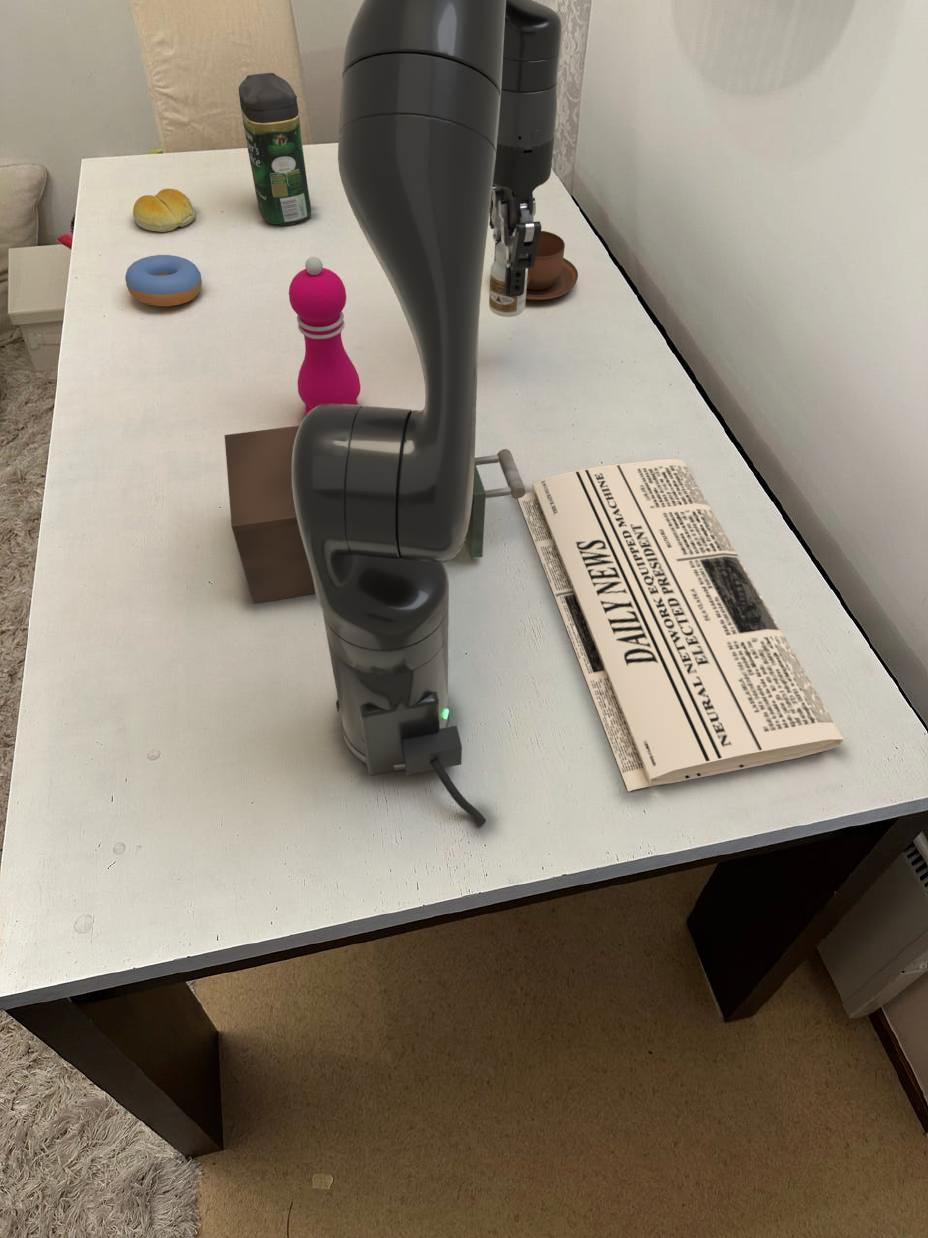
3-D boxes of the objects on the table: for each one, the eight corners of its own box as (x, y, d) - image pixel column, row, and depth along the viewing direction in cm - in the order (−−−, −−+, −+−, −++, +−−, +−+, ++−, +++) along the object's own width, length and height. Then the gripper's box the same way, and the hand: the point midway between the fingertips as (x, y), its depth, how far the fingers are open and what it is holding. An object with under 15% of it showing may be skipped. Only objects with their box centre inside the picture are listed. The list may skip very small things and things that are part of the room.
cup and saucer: (579, 309, 117) (584, 267, 112) (492, 306, 117) (494, 264, 112) (573, 264, 124) (579, 223, 120) (492, 262, 124) (494, 220, 120)
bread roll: (127, 217, 131) (120, 191, 128) (182, 202, 134) (176, 176, 131) (148, 239, 127) (141, 213, 123) (204, 223, 130) (198, 197, 127)
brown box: (380, 495, 93) (374, 415, 85) (400, 580, 85) (396, 502, 77) (244, 514, 91) (224, 434, 82) (252, 603, 83) (231, 526, 75)
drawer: (501, 475, 94) (505, 410, 87) (529, 550, 87) (536, 485, 80) (335, 498, 91) (326, 433, 84) (350, 577, 84) (342, 513, 77)
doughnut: (188, 269, 121) (181, 238, 118) (216, 302, 116) (209, 270, 113) (121, 288, 118) (111, 257, 114) (146, 323, 113) (136, 291, 109)
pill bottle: (482, 312, 102) (485, 250, 96) (498, 295, 105) (502, 234, 99) (515, 321, 101) (519, 260, 95) (530, 304, 104) (536, 243, 98)
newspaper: (836, 750, 74) (848, 734, 72) (628, 792, 71) (634, 776, 69) (680, 473, 96) (685, 454, 94) (516, 496, 93) (518, 477, 91)
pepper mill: (353, 440, 99) (336, 280, 83) (294, 431, 100) (266, 271, 84) (370, 402, 103) (357, 244, 88) (313, 394, 104) (290, 236, 88)
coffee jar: (253, 202, 134) (230, 70, 120) (302, 195, 136) (285, 64, 122) (266, 230, 129) (244, 96, 114) (316, 223, 131) (301, 89, 116)
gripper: (467, 104, 91) (464, 256, 104) (500, 160, 82) (492, 319, 96) (534, 99, 92) (522, 251, 105) (573, 155, 83) (555, 312, 97)
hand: (508, 282), depth 100 cm, fingers closed on pill bottle, 4 cm apart
